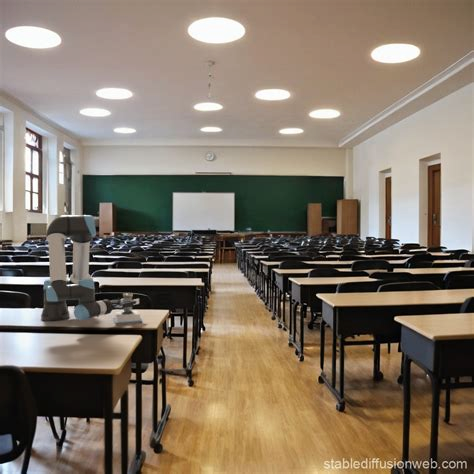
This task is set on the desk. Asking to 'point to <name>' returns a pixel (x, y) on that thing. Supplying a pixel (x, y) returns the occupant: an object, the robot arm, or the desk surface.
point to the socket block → (127, 317)
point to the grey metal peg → (126, 298)
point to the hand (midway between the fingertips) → (133, 300)
